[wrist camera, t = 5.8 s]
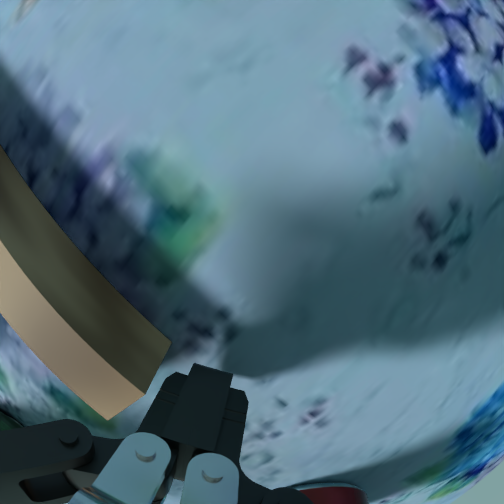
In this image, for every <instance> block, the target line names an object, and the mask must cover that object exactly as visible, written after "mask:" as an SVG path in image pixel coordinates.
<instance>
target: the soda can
mask: <svg viewBox="0 0 504 504" xmlns="http://www.w3.org/2000/svg"><path fill="white" fill-rule="evenodd" d="M292 488H294V489H296V490H299V491H301V492H302V493H304V494H305V495H306V496H307V497H308V498H309V499H310V500H311V501H312V502H313V503H314V504H369V503H368V497H367V494H366V493H365V492H364V491H363V490H362V489H360V488H358V487H356V486H354V485H351V484H347V483H340V482H325V483H313V484H306V485H301V486H296V487H292Z"/></svg>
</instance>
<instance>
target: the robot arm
mask: <svg viewBox="0 0 504 504" xmlns="http://www.w3.org/2000/svg"><path fill="white" fill-rule="evenodd" d="M232 377H233V374H232V373H228V372H225V371H221V370H217V369H213V368H210V367H206V366H203V365H200V364H196V363H194V364H193V366H192V368H191V370H190V372H189V375H185V374H181V373H178V372H175V373H173V374H172V375H170V376H169V377H167V378H166V379H165V381H164V383H163V384H162V386H161V388H160V391H159V392H158V394H157V395H156V398H155V399H154V401H153V403H152V405H151V407H150V408H149V410H148V412H147V414H146V416H145V418H144V419H143V421H142V423H141V425H140V427H139V429H138V430H137V431H136V432H135V433H134V434H131V435H129V436H127V437H126V438H124V439H108V438H102V437H96V436H92V435H91V433H90V431H89V430H88V429H87V428H86V427H85V426H84V425H83V424H81V423H80V422H77V421H75V420H70V419H63V420H58V421H53V422H48V423H43V424H38V425H33V426H28V427H22V428H16V429H10V430H3V431H0V504H64V503H68V504H163V503H164V500H165V498H166V496H167V494H168V492H169V490H170V487H171V484H172V481H173V479H177V480H181V481H184V486H183V490H182V495H181V500H180V504H314V503H313V502H312V501H311V500H310V499H309V498H308V497H307V496H306V495H305V494H304V493H302V492H301V491H299V490H296V489H294V488H288V487H282V488H276V489H274V490H270V489H268V488H266V487H263V486H261V485H259V484H257V483H255V482H253V481H251V480H250V479H249V478H248V477H247V476H246V475H245V474H244V473H243V471H242V470H241V467H240V463H239V458H240V452H241V446H242V440H243V434H244V428H245V422H246V415H247V409H248V403H249V402H248V400H247V397H246V394H245V392H244V391H242V390H238V389H234V388H230V385H231V381H232Z"/></svg>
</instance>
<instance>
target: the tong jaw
mask: <svg viewBox="0 0 504 504" xmlns="http://www.w3.org/2000/svg"><path fill="white" fill-rule="evenodd" d="M0 313H1V314H2V316H3V317H4V318H5V319H6V321H7V322H8V323H9V325H10V326H11V327H12V328H13V329H14V331H15V332H16V333H17V334H18V335H19V337H20V338H21V339H22V340H23V341H24V342H25V344H26V345H27V346H28V347H29V348H30V349H31V350H32V351H33V352H34V354H35V355H36V356H37V357H38V358H39V359H40V360H41V361H42V362H43V363H44V364H45V365H46V366H47V367H48V368H49V369H50V370H51V371H52V372H53V373H54V374H55V375H56V376H57V377H58V378H59V379H60V380H61V381H62V382H63V383H64V384H65V385H66V386H67V387H68V388H70V389H71V390H72V391H73V392H74V393H75V394H76V395H77V396H78V397H80V398H81V399H82V400H83V401H84V402H85V403H87V404H88V405H89V406H90V407H91V408H93V409H94V410H95V411H96V412H97V413H99V414H100V415H101V416H102V417H104V418H105V419H106V420H109V419H111V418H112V417H114V416H115V415H117V414H118V413H120V412H121V411H122V410H124V409H125V408H127V407H128V406H130V405H131V404H132V403H134V402H135V401H137V400H138V399H140V398H141V397H142V396H144V395H145V394H146V392H147V390H148V388H149V386H150V384H151V382H152V380H153V378H154V376H155V374H156V372H157V370H158V368H159V366H160V364H161V362H162V360H163V359H164V357H165V355H166V353H167V351H168V349H169V347H170V345H171V343H172V342H171V341H170V340H169V339H168V338H166V337H165V336H164V335H163V334H162V333H161V332H160V331H159V330H158V329H156V328H155V327H154V326H153V325H152V324H151V323H150V322H149V321H148V320H147V319H146V318H145V317H143V316H142V315H141V314H140V313H139V312H138V311H137V310H136V309H135V308H134V307H133V306H132V305H131V304H130V303H129V302H128V301H127V300H126V299H125V298H124V297H123V296H122V295H121V294H120V293H119V292H118V291H117V290H116V289H115V288H114V287H113V286H112V285H111V284H110V283H109V282H108V281H107V280H106V279H105V278H104V277H103V276H102V274H101V273H100V272H99V271H98V270H97V269H96V268H95V267H94V266H93V265H92V264H91V263H90V262H89V260H88V259H87V258H86V257H85V256H84V255H83V254H82V253H81V251H80V250H79V249H78V248H77V247H76V246H75V245H74V243H73V242H72V241H71V240H70V239H69V238H68V236H67V235H66V234H65V233H64V232H63V230H62V229H61V228H60V227H59V226H58V224H57V223H56V222H55V221H54V219H53V218H52V217H51V216H50V214H49V213H48V212H47V211H46V209H45V208H44V207H43V205H42V204H41V203H40V201H39V200H38V199H37V197H36V196H35V195H34V193H33V192H32V191H31V189H30V188H29V187H28V185H27V184H26V182H25V181H24V180H23V178H22V177H21V175H20V174H19V172H18V171H17V170H16V168H15V167H14V165H13V164H12V162H11V161H10V159H9V158H8V156H7V155H6V153H5V151H4V150H3V148H2V147H1V145H0Z"/></svg>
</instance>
